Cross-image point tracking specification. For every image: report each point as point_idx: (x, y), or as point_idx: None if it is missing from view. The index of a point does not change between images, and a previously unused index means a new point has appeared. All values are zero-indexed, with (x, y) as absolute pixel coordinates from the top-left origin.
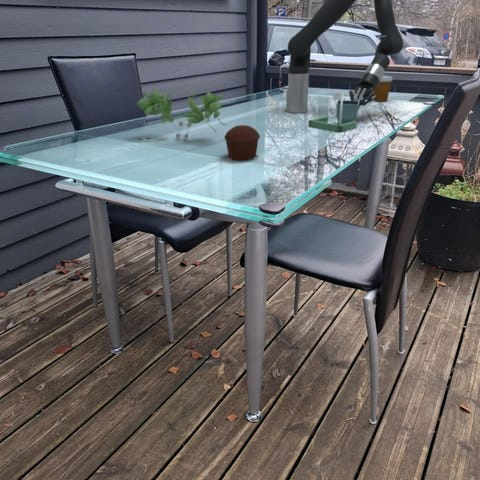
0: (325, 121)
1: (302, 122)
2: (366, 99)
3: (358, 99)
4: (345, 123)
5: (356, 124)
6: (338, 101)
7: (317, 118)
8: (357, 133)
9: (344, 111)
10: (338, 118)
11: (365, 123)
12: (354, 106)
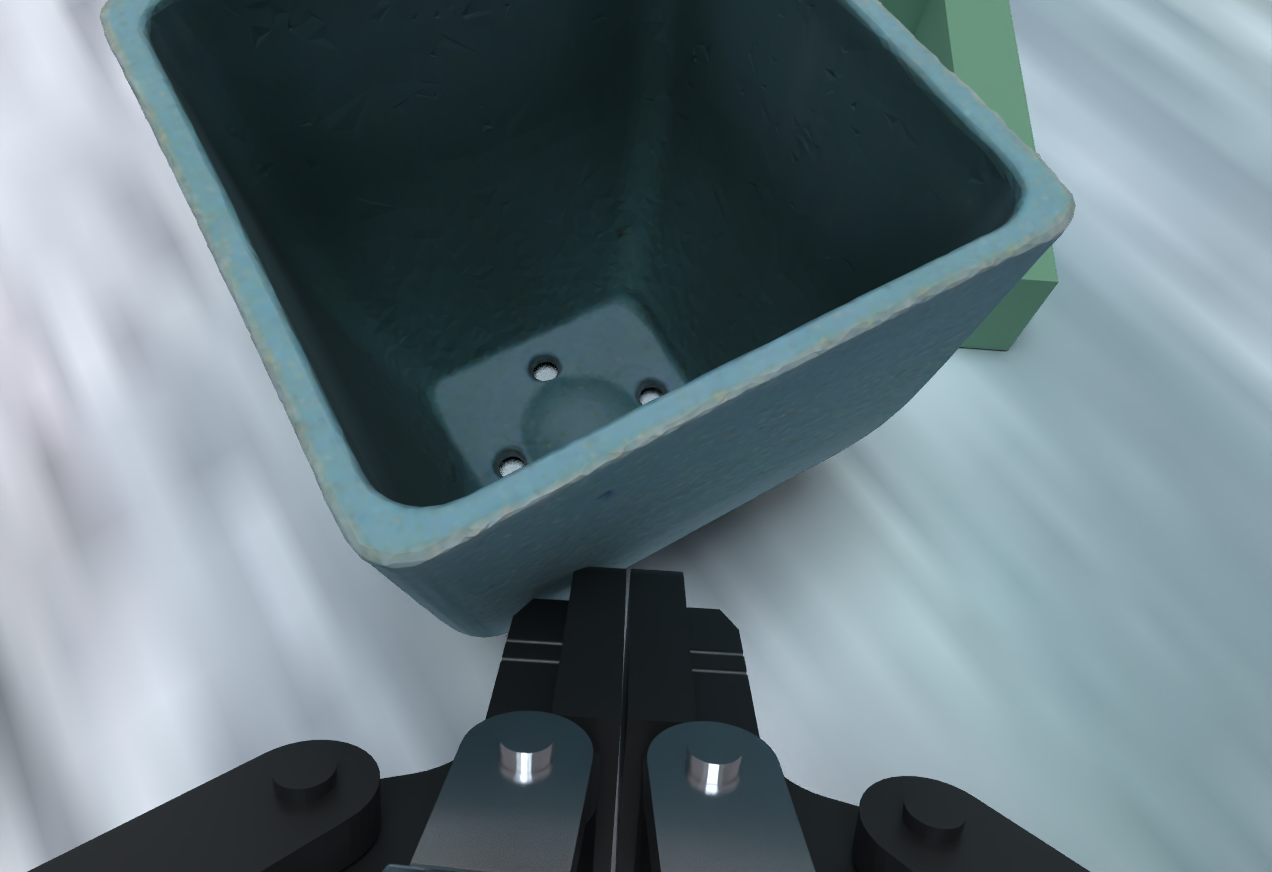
0: None
1: (1264, 161)
2: (64, 864)
3: (555, 832)
4: None
5: None
6: (936, 101)
7: (1014, 85)
8: (107, 52)
9: (503, 50)
10: (627, 148)
11: None
12: (233, 7)
